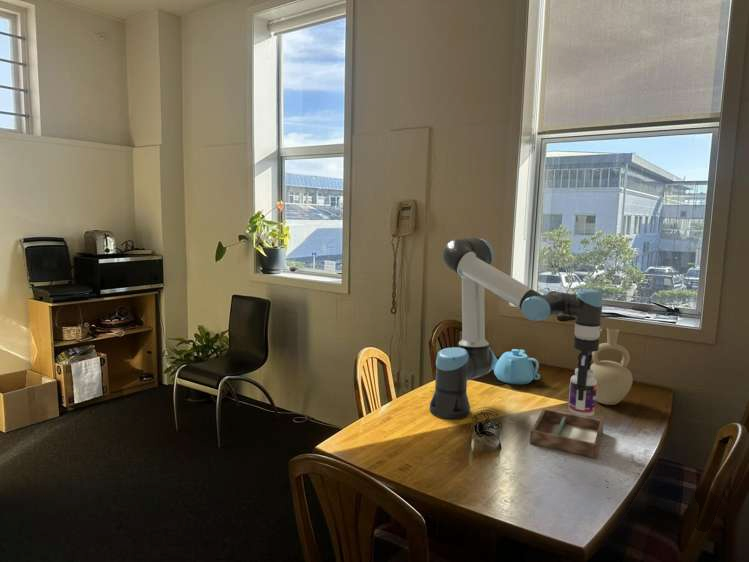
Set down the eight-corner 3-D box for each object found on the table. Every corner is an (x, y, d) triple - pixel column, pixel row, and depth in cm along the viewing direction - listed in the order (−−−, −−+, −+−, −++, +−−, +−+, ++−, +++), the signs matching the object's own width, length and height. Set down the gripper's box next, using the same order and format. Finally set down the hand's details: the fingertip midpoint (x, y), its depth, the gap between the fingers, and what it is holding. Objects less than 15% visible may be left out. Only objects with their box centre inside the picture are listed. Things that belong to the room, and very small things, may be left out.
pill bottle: (596, 418, 162) (600, 375, 160) (570, 416, 163) (573, 373, 162) (591, 409, 170) (594, 367, 168) (566, 407, 171) (569, 365, 169)
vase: (588, 407, 198) (594, 332, 194) (581, 393, 214) (587, 323, 210) (635, 412, 194) (642, 336, 190) (624, 397, 210) (631, 326, 206)
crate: (529, 443, 165) (530, 430, 164) (542, 420, 184) (543, 408, 183) (596, 459, 155) (597, 445, 155) (602, 432, 174) (603, 420, 174)
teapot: (523, 372, 241) (525, 343, 239) (544, 385, 222) (546, 355, 220) (485, 373, 237) (487, 345, 235) (503, 387, 219) (505, 356, 217)
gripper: (596, 345, 152) (590, 418, 155) (602, 332, 171) (597, 397, 174) (569, 342, 156) (564, 413, 159) (578, 329, 174) (573, 393, 177)
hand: (581, 404), depth 166 cm, fingers closed on pill bottle, 8 cm apart
